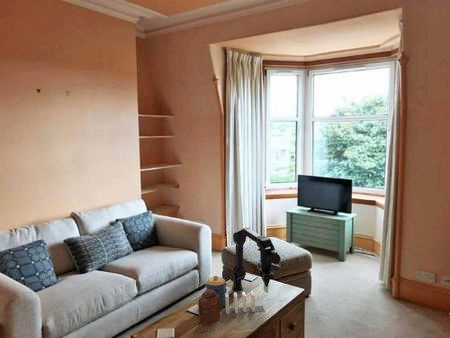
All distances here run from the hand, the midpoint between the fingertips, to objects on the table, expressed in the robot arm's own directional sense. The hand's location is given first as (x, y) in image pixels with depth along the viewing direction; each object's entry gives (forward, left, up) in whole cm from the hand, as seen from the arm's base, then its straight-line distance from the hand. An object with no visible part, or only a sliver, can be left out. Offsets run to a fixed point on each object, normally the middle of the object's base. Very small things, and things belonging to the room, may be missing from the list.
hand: (265, 284), depth 204 cm
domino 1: (+3, -24, -13) cm, 27 cm away
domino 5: (0, 0, -4) cm, 4 cm away
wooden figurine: (+12, -35, -13) cm, 39 cm away
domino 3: (+3, -14, -13) cm, 19 cm away
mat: (+3, -14, -13) cm, 20 cm away
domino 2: (+3, -19, -13) cm, 23 cm away
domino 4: (+3, -9, -13) cm, 16 cm away
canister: (-8, -29, -14) cm, 33 cm away
